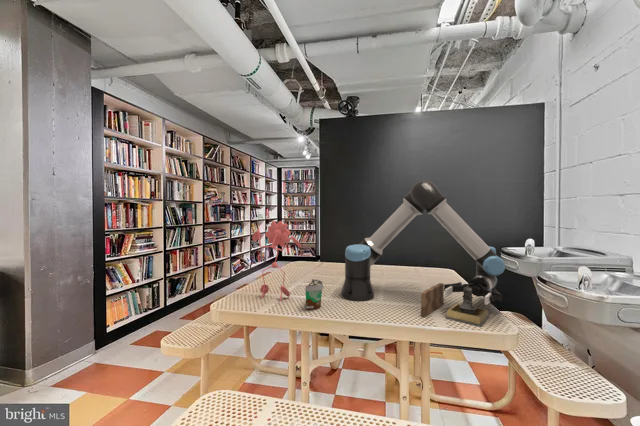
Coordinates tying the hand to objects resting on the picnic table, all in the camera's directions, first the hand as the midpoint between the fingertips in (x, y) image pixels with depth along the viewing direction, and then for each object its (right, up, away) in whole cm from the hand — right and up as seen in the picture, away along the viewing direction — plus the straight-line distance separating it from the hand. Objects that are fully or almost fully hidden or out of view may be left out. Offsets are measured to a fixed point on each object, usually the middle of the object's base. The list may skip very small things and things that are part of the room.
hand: (465, 296), depth 108 cm
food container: (-55, -8, +14) cm, 57 cm away
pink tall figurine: (-73, -8, +29) cm, 79 cm away
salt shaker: (+2, -8, +3) cm, 9 cm away
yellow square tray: (+2, -9, +3) cm, 9 cm away
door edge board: (-8, -8, +11) cm, 16 cm away
